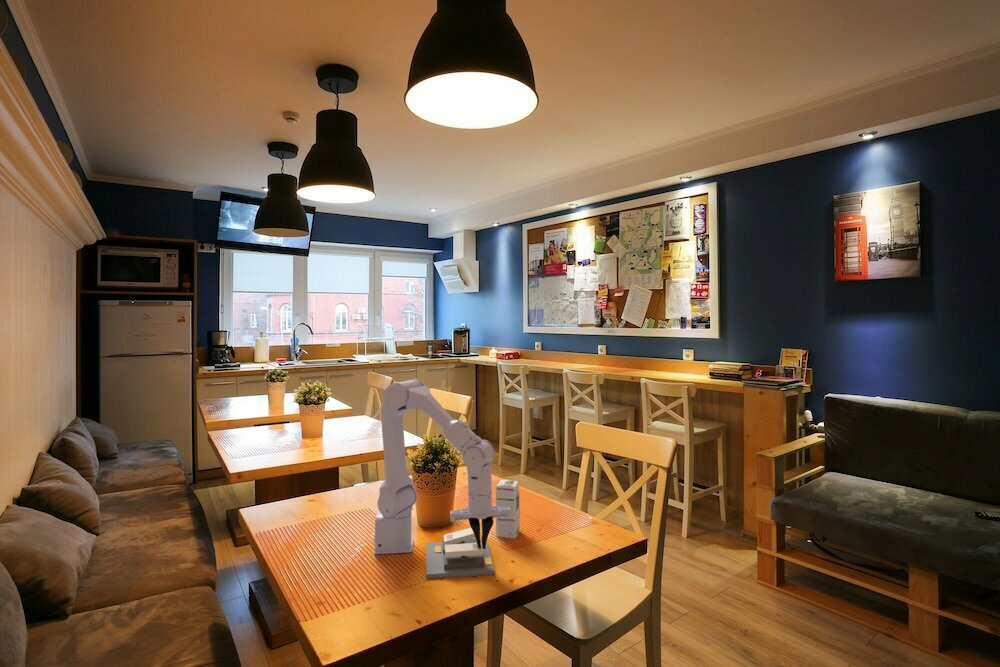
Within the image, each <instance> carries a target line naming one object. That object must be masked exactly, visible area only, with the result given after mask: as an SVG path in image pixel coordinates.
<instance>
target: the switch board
mask: <svg viewBox="0 0 1000 667" xmlns="http://www.w3.org/2000/svg"><path fill="white" fill-rule="evenodd" d="M480 542H481V543H482V539H480ZM465 543H477V541H476V538H473V539H469V540H466V541H462V542H459V543H455V544H465ZM425 546H426V548H425V551H426V552H425V553H426V555H425V579H426V580H427V579H440V578H442V579H443V577H444V578H458V577H472V576H473V577H474V576H475V577H476V576H491V575H492V574H496V573H495V572H496V570H495V567H494V562H493V559H492V554H491V551H490V547H489V544H488V541H487V542H486V549H483V555H469V556H455V557H445V543H444V539H443V540H442V541H437V542H436V541H434V542H426V545H425ZM492 576H493V575H492Z"/></svg>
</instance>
